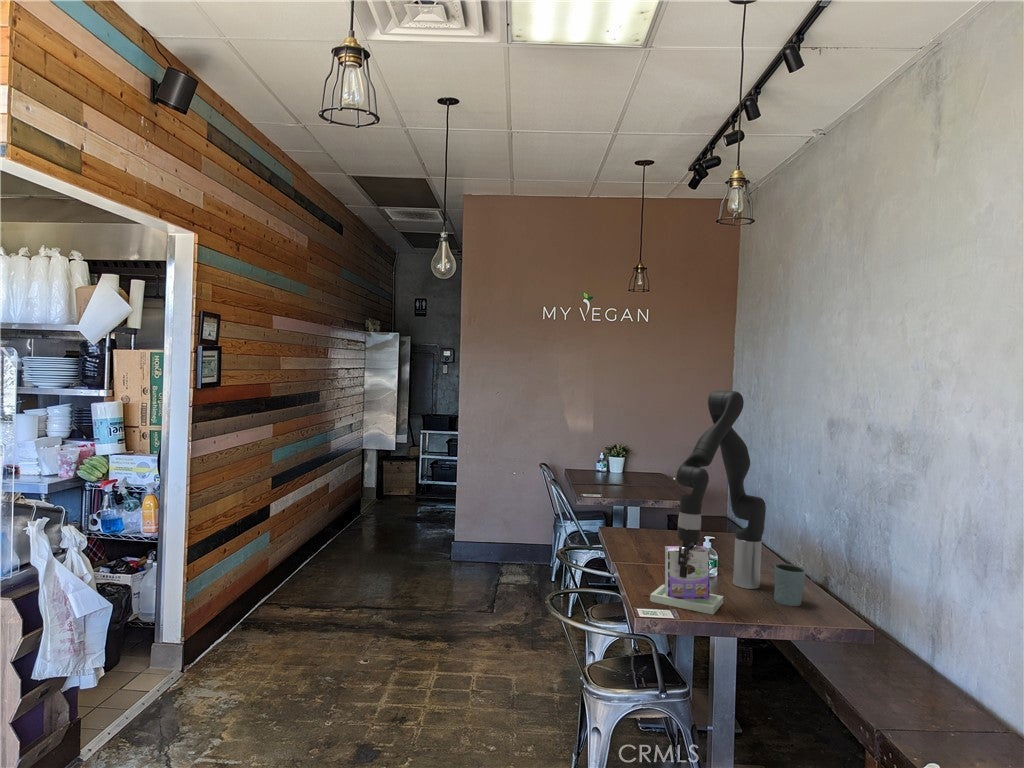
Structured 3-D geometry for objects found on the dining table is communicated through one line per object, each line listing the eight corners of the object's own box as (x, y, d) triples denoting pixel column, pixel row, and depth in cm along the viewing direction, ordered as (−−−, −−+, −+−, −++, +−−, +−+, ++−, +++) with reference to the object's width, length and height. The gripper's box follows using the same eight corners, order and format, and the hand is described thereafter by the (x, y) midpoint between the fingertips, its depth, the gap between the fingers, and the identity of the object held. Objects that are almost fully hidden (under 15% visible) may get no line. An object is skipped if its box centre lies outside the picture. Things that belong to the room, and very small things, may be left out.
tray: (662, 591, 237) (662, 584, 237) (722, 603, 227) (723, 596, 227) (650, 601, 225) (650, 594, 225) (713, 614, 215) (713, 607, 215)
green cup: (778, 595, 239) (779, 561, 239) (808, 602, 233) (809, 567, 233) (768, 601, 231) (770, 567, 231) (799, 609, 225) (801, 573, 225)
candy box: (705, 593, 229) (705, 545, 229) (709, 599, 223) (710, 550, 223) (664, 593, 230) (664, 545, 229) (667, 599, 224) (667, 550, 223)
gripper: (683, 521, 234) (680, 568, 234) (672, 527, 222) (669, 577, 222) (705, 524, 231) (702, 572, 231) (695, 531, 218) (692, 581, 218)
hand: (686, 574), depth 226 cm, fingers closed on candy box, 7 cm apart
